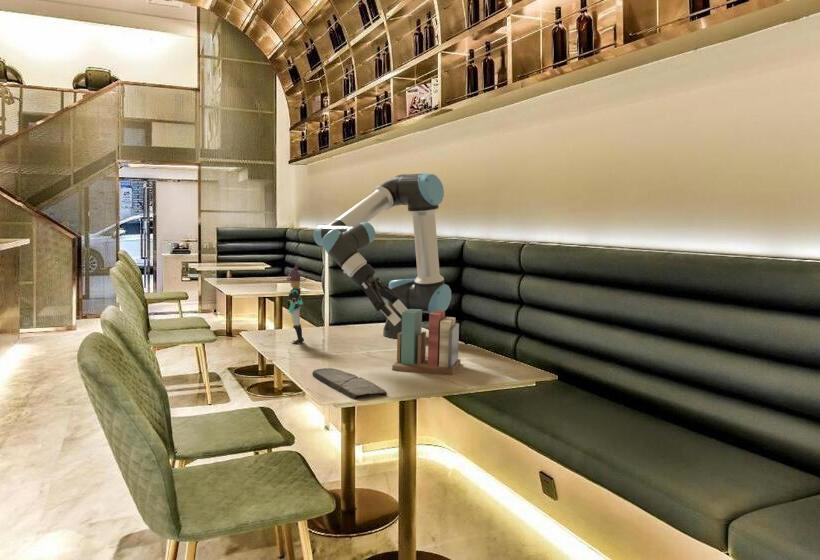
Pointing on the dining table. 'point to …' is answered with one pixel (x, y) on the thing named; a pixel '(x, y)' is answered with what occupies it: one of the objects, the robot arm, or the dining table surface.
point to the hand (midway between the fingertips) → (403, 319)
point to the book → (410, 335)
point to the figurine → (295, 302)
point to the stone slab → (347, 382)
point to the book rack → (434, 347)
